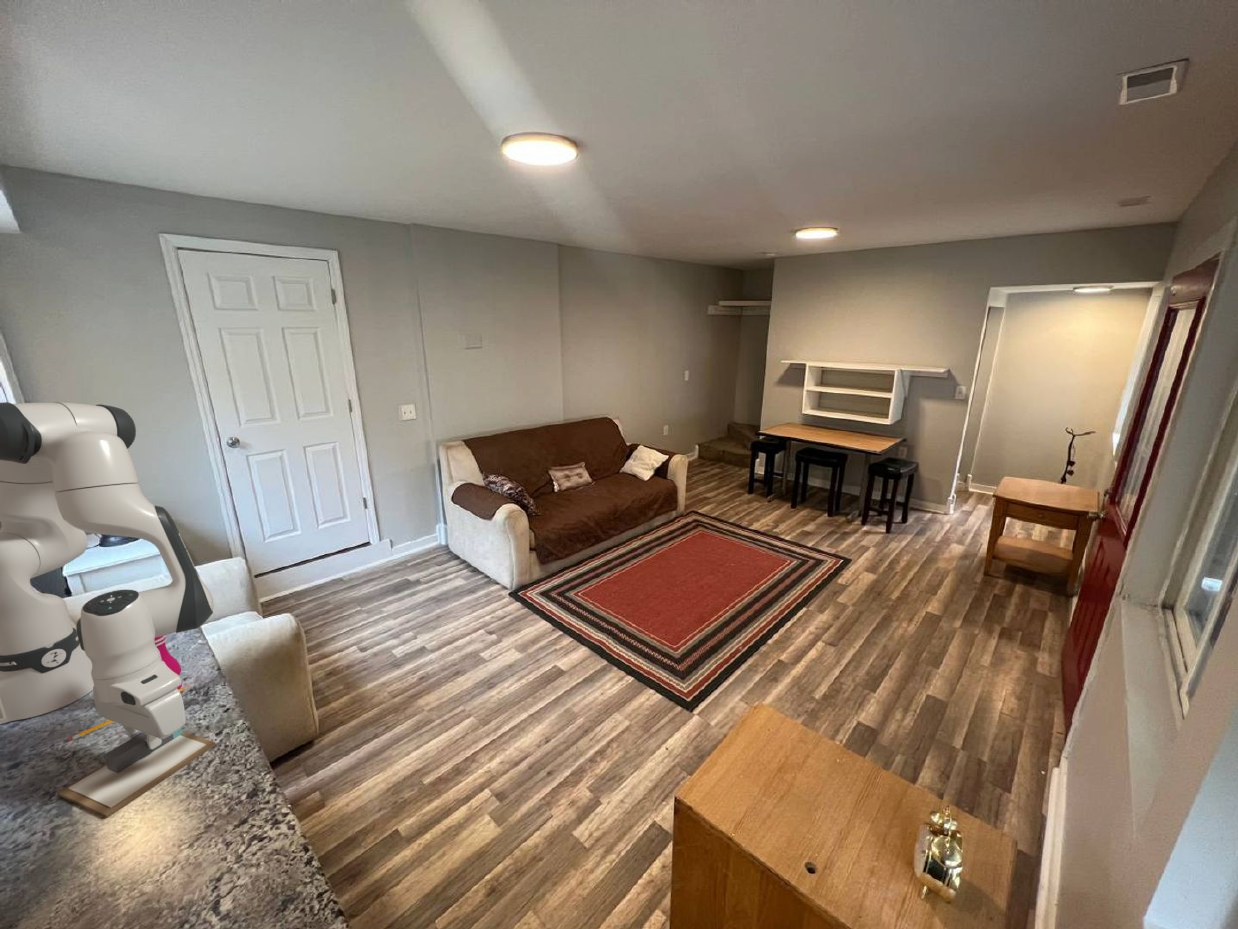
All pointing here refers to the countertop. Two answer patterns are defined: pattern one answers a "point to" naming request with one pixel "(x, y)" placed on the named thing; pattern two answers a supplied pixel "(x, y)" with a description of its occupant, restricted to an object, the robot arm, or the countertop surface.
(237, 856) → the countertop surface
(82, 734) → the pencil
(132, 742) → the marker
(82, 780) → the board
